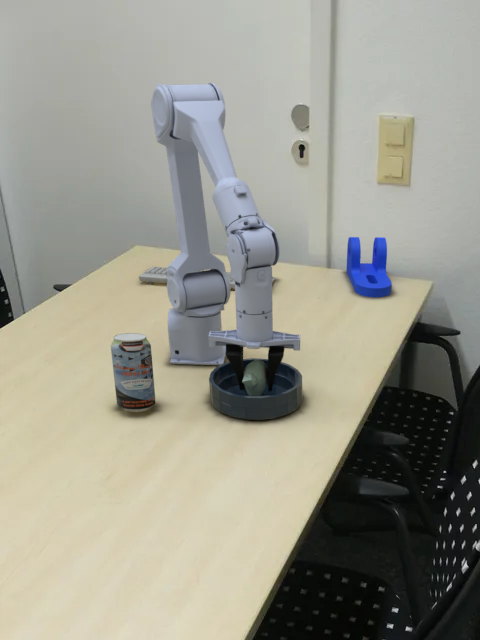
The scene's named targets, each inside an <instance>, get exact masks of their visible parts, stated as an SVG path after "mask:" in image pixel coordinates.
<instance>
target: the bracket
mask: <svg viewBox="0 0 480 640" xmlns="http://www.w3.org/2000/svg"><path fill="white" fill-rule="evenodd" d="M372 244H373V246H372V258H371V262H370V263H368V262H362V263H361V253H362V250H361V249H362V248H361V239H360V237H359V236H349V237H348V239H347V248H346V249H347V250H346V253H347V254H346V270H345V272H346V275H347V276H348V279H349V281H350V283H351V286H352V288H353V290H354V292H355V293H356V294H357V295H359V296H362V297H366V298H386V297H388V296H390V295H391V294H392V281H391V280H390V277H389V275H388V274H387V261H388V260H387V259H388V243H387V239H386V237H384V236H383V237H375V238H374V240H373V243H372Z"/></svg>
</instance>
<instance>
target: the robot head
mask: <svg viewBox="0 0 480 640" xmlns="http://www.w3.org/2000/svg"><path fill="white" fill-rule="evenodd" d="M268 375H269V370H268V368H267V366H266V364H265V363H264V362H263V361H260V360H254V361H252V362H250V363H249V364H248V365H247V366H246V367H245V369H244V372H243V381H242V382H243V383H244V385H245V389H246V391H247V393H248V395H249V396H260V395H261V394H262V393H263V391H264V390H265V388H266V385H267V382H268Z"/></svg>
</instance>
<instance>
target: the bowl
mask: <svg viewBox="0 0 480 640" xmlns="http://www.w3.org/2000/svg"><path fill="white" fill-rule="evenodd" d="M254 360H260V361H263V362H264V363H265V364H266V366H267V368H268V358H257V357H255V358H254V357H253V358H252V357H250V358H243V365H244V369H245V367H246V366H247V365H248V364H249V363H250V362H252V361H254ZM268 370H269V369H268ZM268 377H269V375H268ZM208 385H209V399H210V403H211V404H212V407H213V408H215V409H216V410H217V411H218V412H220V413H222V414H223V415H226V416H228V417H232V418H236V419H237V418H238V419H242V420H254V421H255V420H256V421H262V420H272V419H277V418H280V417H284V416H287V415H289V414H291V413H293V412H294V411H296V410H298V408H299V407H300V406H301V405H302V402H303V375H302V374H301V372H300V371H299V369H297V368H296V367H294V366H292V365H291V364H290V363H286V362H283V361H281V363H280V365H279V367H278V369H277V372H276V374H275V377H274V381H273V389H272V391H268V382H267V385H266V388H265V390H264V391H263V393H262V394H261V395H260V396H249V395H248V393H247V391H246V389H245V388H244V390H240V387H239V383H238V380H237V377H236V374H235V372H234V369H233V367H232V366H231V364H230V362H229V361H227V362H224V363H223V364H222V365H217V366H216V367H215V368H214V369H213V370H212V371H210V374H209V377H208Z"/></svg>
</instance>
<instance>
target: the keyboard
mask: <svg viewBox="0 0 480 640" xmlns="http://www.w3.org/2000/svg"><path fill="white" fill-rule="evenodd" d="M202 271H205V270H202ZM195 272H199V271H195ZM189 273H192V272H189ZM226 275H227V277H228V280H229V283H230V289H235V280H234V279H232V275H231V271H230V272H229V271H226ZM138 279H139V281H140V282H147V285H153V284H154V283H159V284H160V283H162V284H167V282H168V275H167V267H162V266H151V267H150V268H148V269H147V270H145V271H144V272H142V273H141V274H139V275H138ZM275 280H276V276H272V284H273V283H274V282H275Z"/></svg>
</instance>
